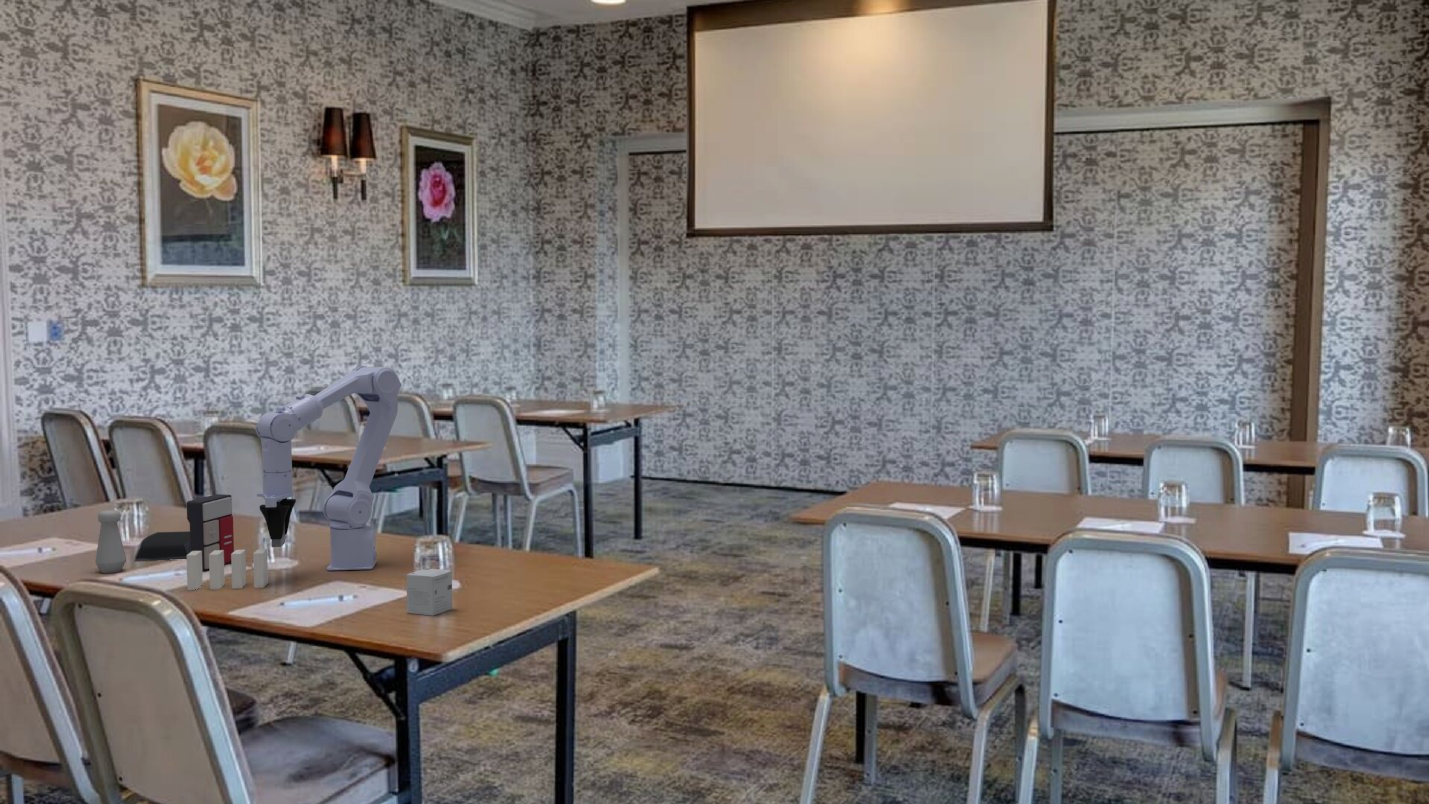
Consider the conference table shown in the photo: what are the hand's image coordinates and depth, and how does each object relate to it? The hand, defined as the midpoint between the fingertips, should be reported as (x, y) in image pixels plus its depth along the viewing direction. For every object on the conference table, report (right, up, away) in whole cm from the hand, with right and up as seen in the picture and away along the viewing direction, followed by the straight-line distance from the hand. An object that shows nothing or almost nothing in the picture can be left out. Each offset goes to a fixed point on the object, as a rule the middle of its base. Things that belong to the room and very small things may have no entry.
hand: (278, 536), depth 249 cm
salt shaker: (-38, -8, +8) cm, 40 cm away
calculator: (-19, -8, +13) cm, 25 cm away
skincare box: (+37, -11, -25) cm, 46 cm away
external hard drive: (-35, -7, +29) cm, 46 cm away
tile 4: (-10, -9, -6) cm, 15 cm away
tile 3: (-6, -9, -5) cm, 12 cm away
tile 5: (-14, -9, -7) cm, 18 cm away
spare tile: (0, -2, 0) cm, 2 cm away
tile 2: (-2, -9, -5) cm, 11 cm away
